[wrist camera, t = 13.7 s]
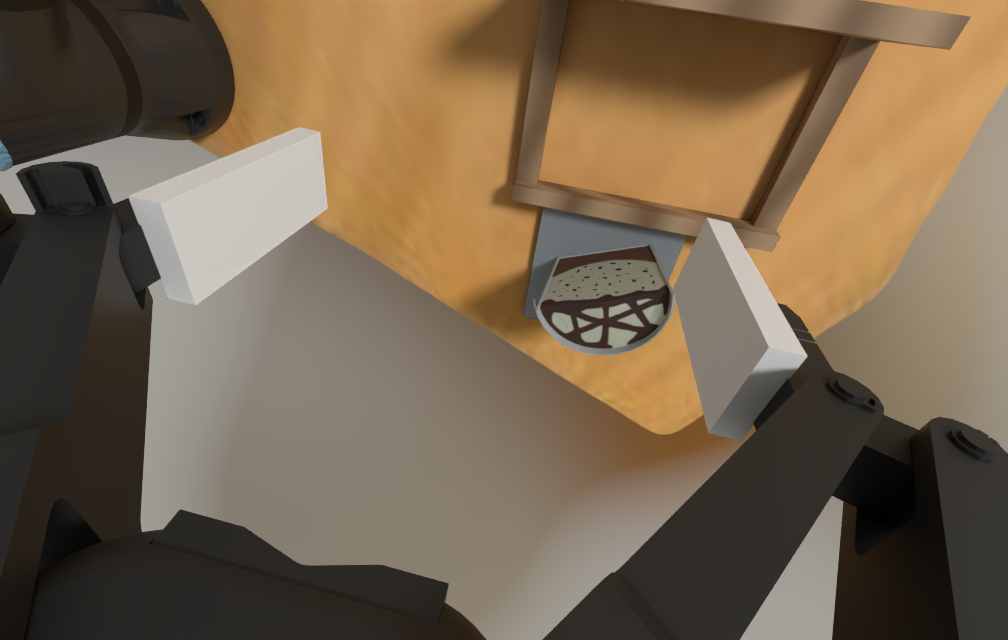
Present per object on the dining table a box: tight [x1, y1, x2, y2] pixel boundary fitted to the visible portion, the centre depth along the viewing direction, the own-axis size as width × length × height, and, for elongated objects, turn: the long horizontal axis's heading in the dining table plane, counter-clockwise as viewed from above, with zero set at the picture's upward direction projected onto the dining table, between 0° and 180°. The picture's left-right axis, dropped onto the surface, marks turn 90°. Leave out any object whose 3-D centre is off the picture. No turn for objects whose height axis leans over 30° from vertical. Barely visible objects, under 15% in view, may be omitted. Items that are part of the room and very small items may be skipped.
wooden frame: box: [511, 0, 971, 252], centre depth 33 cm, size 24×18×9 cm
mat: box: [523, 207, 687, 320], centre depth 46 cm, size 14×14×1 cm
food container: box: [533, 243, 676, 356], centre depth 42 cm, size 12×6×10 cm, turn 105°
